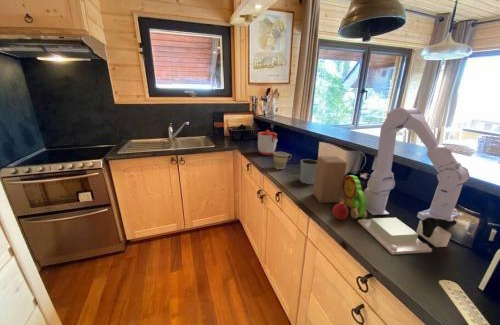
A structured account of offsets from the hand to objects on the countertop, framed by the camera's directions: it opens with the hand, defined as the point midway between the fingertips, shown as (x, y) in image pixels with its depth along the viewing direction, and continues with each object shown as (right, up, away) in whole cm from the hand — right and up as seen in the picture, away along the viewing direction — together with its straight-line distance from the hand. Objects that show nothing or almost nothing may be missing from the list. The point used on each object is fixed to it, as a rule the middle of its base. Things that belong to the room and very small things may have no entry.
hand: (431, 235), depth 75 cm
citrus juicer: (-50, +33, +101) cm, 117 cm away
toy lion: (-20, +5, +18) cm, 28 cm away
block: (-28, +8, +28) cm, 40 cm away
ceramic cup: (-43, +22, +68) cm, 83 cm away
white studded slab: (-13, 0, +2) cm, 13 cm away
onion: (-29, +3, +10) cm, 30 cm away
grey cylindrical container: (-31, +15, +47) cm, 59 cm away
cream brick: (0, -1, 0) cm, 1 cm away
